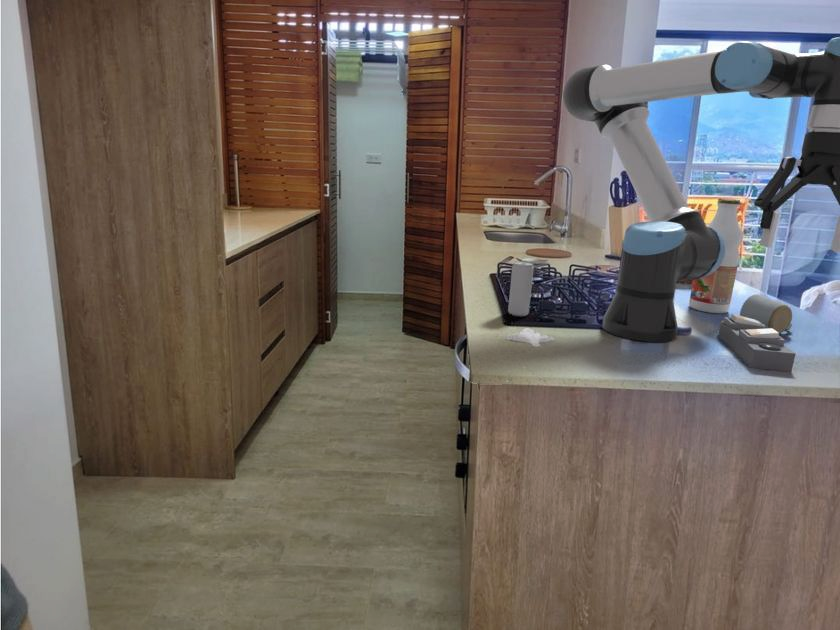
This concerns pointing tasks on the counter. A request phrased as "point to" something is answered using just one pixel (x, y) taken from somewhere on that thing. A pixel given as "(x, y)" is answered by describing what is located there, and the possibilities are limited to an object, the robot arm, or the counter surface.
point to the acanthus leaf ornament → (529, 337)
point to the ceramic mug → (767, 312)
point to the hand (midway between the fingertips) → (800, 249)
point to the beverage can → (520, 288)
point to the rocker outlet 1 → (744, 320)
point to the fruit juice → (719, 285)
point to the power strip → (756, 346)
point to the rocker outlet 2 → (763, 333)
